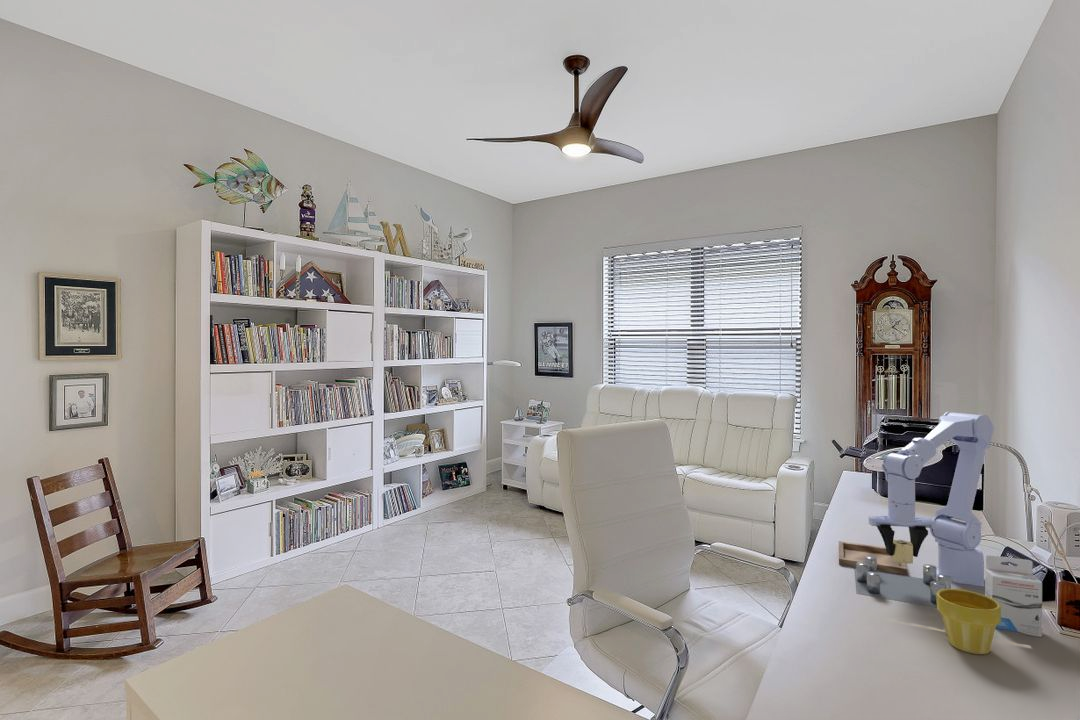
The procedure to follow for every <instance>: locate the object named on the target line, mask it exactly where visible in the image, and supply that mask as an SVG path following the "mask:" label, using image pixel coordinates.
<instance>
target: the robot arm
mask: <svg viewBox="0 0 1080 720" xmlns="http://www.w3.org/2000/svg"><path fill="white" fill-rule="evenodd" d="M994 429H995V426H994V424H993V422H992V420H991V419H990V417H989V416H988V415H985V414H974V413H973V414H971V413H964V412H962V413H961V412H953V411H946V412H945V413H944V414H942V415H941V416H940V417H939V419H938V424H937V425H936V426H935V427H934V428H933V429H932V430H931V431H930V432H929V433H928V434H927V435H926V436H925V437H914V438H912V440H911V442H909V443H908V444H907V445H905V446H904V447H903V448H901V449H900V450H899V451H897V452H891V453H889V454H886V456H885V457H884V458H883V460H882V461H883V462H882V463H881V467H882V471H883V473H884V475H885V480H886V482H887V511H888V512H887V513H888V514H887V515H876V516H875V515H874V516H872V515H871V516H868V524H869V525H870V526H872V527H877V530H878V531H879V534H880V536H881V538H882V540H883V543H884V546H885V547H886V552H887V553H888V554H889V555H891V556H893V540H895V538H894V537H895V534H896V531H895V530H894V529H893V528H892V527H906V528H908V532H909V538H910V541H909V542H912V545H913V558H917V557H918V555H919V552H920V549H921V546H922V544H923V543H924V541H925V539H926V537H928V535H929V532H930V534H931V536H932V537H933V538H934V541H935V542H936V543H937V557H938V558H937V560H938V561H937V568H936V575H937V574H944V575H948V576H950V577H951V583H958V584H964V585H970V586H978V587H985V559H984V553H983V550H982V549H981V548H979V545H980V544H981V541H982V521H981V520H980V519H979V518H978V517H977V516H976V515H975V514H974V513H973V507H974V503H975V497H976V495H977V490H978V486H979V481H980V478H981V474H982V469H983V464H984V461H985V455H986V451H987V449H989V448H990V445H991V443H992V439H993V438H992V437H993V434H994ZM949 441H951V442H952V443H953V444H955V445H957V446H958V448H959V454H958V457H957V462H956V466H955V470H954V471H955V472H954V476H953V479H952V484H951V486H950V491H949V494H948V496H949V497H948V501H947V504H946V505H945V506H942V507H941V508H938V509H936V510H935V514H934V516H933V518H924V517H916V478H919V477H920V474H921V472H922V469H924V465H925V464H926V463H928V462H929V461H930V460H931V459H933V458H934V457H935V456H936V454H937V449H938V448H939V447H941V446H942V445H944V444H945V443H947V442H949ZM959 520H960V521H959ZM928 529H929V530H928Z"/></svg>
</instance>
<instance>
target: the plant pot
mask: <svg viewBox="0 0 1080 720" xmlns="http://www.w3.org/2000/svg"><path fill="white" fill-rule="evenodd" d="M936 599H937V608H936V609H937V611H938V612H939V613H940V615H941V618H942V621H943V625H944V629H945V633H946V637H947V641H948V643H949V644H950V645H951V646H952V647H954V648H955V649H958V650H959V651H962V652H965V653H969V654H973V655H987V654H988V653H990V650H991V646H992V643H993V638H994V635H995V633H996V632H995V630H996V629H997V628H996V625H998V624H999V623H1000V621H1001V607H1000V604H999V603H998V602H997V601H995V600H994V599H992V598H990V597H987V596H985V594H982V593H979V592H976V591H971V590H966V589H959V588H951V589H942V590H939V591H938V592H937V594H936Z"/></svg>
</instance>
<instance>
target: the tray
mask: <svg viewBox="0 0 1080 720" xmlns="http://www.w3.org/2000/svg"><path fill="white" fill-rule="evenodd" d="M865 556H873V557H876V558H877V571H878V572H884V573H891V574H897V575H904V576H908V568H907V564H902V563H899V562H895V561H892V558H891V555H889V554H888V553H887V552H886V547H884V546H878V545H869V544H861V543H856V542H855V543H853V542H848V541H841V540H838V565H839V566H846V567H852V568H853V567H854V568H856V563H857V562H863V563H865Z"/></svg>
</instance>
